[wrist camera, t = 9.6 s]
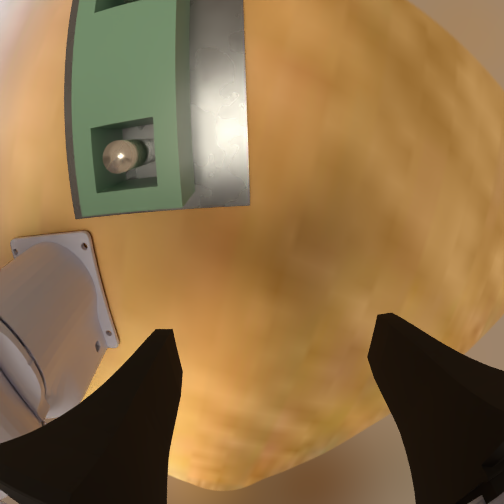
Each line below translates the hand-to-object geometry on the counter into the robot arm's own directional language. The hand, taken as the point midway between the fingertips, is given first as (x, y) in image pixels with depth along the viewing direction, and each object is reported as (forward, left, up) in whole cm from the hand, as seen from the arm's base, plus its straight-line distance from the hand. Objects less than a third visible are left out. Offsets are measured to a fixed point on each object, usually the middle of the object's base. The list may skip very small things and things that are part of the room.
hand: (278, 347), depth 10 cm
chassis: (+11, +6, -9) cm, 16 cm away
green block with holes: (+11, +6, -8) cm, 15 cm away
